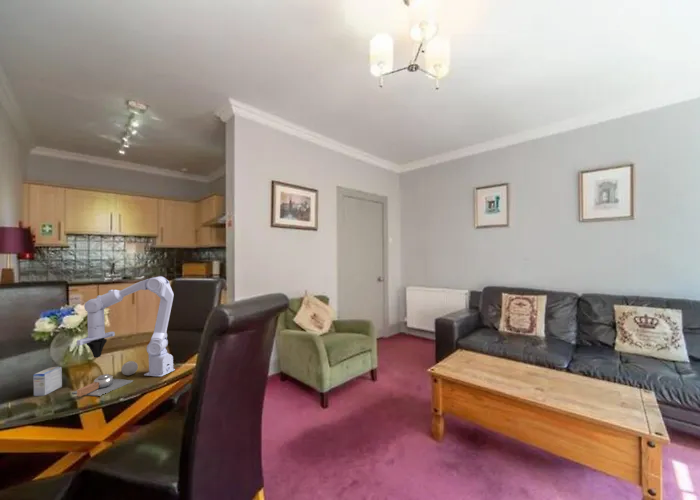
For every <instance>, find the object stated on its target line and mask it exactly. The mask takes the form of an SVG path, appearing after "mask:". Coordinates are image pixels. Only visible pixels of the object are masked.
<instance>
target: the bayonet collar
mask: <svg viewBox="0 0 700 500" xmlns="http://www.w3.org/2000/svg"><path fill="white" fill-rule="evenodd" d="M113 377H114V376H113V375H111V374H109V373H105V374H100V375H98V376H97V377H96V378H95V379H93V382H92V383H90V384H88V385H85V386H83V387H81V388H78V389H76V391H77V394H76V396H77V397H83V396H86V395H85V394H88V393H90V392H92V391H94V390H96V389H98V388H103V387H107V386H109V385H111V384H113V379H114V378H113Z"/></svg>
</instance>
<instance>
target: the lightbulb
mask: <svg viewBox="0 0 700 500" xmlns="http://www.w3.org/2000/svg"><path fill="white" fill-rule="evenodd" d="M138 369H139V365H138V363H137V362H136V361H133V360H130V361H127V362H125V363H124V364H123V365H122V366H121V373H122V374H123V375H124V376H132V375H134V374H135V373H136V372H137V370H138Z"/></svg>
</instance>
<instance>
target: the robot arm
mask: <svg viewBox="0 0 700 500" xmlns="http://www.w3.org/2000/svg"><path fill="white" fill-rule="evenodd" d="M141 290H143V291H147V290H148V291H150V292H151V293H154V294H156V296H157V297H158V298H160V300H159V304H158V305H159V306H158V311H157V314H156V319H155V323H154V324H155V325H154V330H153V334H152V336H151V337H150V341H149V343H148V344H147V346H146V352H147V353H148V372H146V373H144V374H143V375H144V376H149V377H150V376H151V377H161V378H162V377H163V376H165V375H167V374H169V373H171V372H174V371H175V370H176V369H175V368H174V356H173V355H172V354H170V353H169V352H168V350H167V348H166V347H168V344H169V340H168V333H167V331H168V326H169V321H170V316H171V310H172V308H173V307H172V306H173V301H174V296H175V295H174V291H173V289H172V286H171V284H170V281H169V280H168V279H167V278H166V277H164V276H162V275H158V276H155V277H150V278H147V279H144V280H140V281H138V282H136V283H133V284H131V285H129V286H126V287H125V288H123V289H120V290H119V289H110V290H108V292H106V293H104V294H102V295H100V294H99V295H97V296H96V297H95V298H91V299H89V300H87V301H85V303H84V305H83V307H84V310H85V311H86V313H87V314H86V315H87V318H86V319H87V337H84V338H81V339H77V340H76V346H83V345H86V346H88V348H89V349H90V351H91V353H92V356H93V358H100V357H102V356H101V355H102V353H103V349H104V346H105V345H106V343H107V342H108V340H107V339H108V338H111V337H116V336H115V335H116V332H115V331H109V332H106V328H105V327H106V326H105V324H106V323H105V309H106V308H108V307H111V306H113V305H115V304H117V303H120V302H122V301H123V299H124V297H126V296H128V295H131V294H133V293H137V292H138V291H141Z"/></svg>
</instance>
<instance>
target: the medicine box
mask: <svg viewBox="0 0 700 500" xmlns="http://www.w3.org/2000/svg"><path fill="white" fill-rule="evenodd" d="M62 368H63V367H62V366H50V367H48V368H45V369H43V370H41V371H38V372H36V373H34V374H33V375H32V377H33V396H35V397H39V396H40V397H41V396H42V397H43V396H47V395H48V394H50V393H53V392H54V391H56V390H58V389H60V388H62V387H63V375H62V374H63V371H62Z"/></svg>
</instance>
